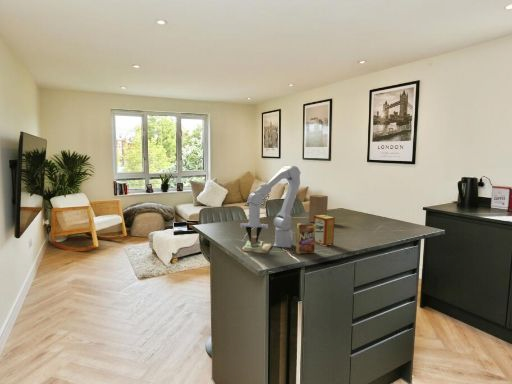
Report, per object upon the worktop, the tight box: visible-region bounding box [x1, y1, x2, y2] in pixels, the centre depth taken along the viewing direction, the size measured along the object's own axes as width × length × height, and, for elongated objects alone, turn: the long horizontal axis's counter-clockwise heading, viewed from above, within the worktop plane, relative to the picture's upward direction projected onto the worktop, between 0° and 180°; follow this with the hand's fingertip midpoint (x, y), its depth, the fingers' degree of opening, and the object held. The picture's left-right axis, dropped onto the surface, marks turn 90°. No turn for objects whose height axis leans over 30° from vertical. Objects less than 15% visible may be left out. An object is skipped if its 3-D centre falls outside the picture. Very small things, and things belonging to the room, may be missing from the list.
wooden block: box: [308, 194, 329, 223], centre depth 244 cm, size 10×10×20 cm
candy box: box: [295, 222, 316, 255], centre depth 166 cm, size 9×4×15 cm, turn 93°
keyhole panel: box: [243, 235, 264, 250], centre depth 174 cm, size 8×13×5 cm, turn 174°
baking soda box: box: [314, 214, 335, 246], centre depth 185 cm, size 10×6×16 cm
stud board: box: [240, 239, 273, 254], centre depth 173 cm, size 13×13×3 cm
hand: (253, 241), depth 173 cm, fingers closed on keyhole panel, 3 cm apart
